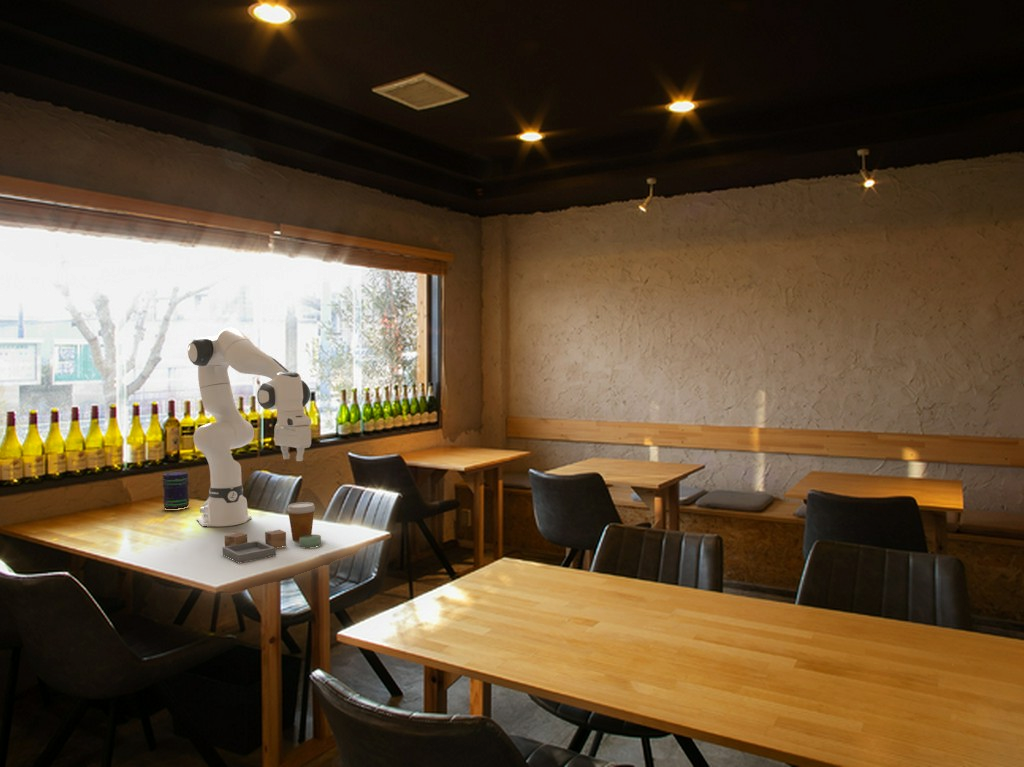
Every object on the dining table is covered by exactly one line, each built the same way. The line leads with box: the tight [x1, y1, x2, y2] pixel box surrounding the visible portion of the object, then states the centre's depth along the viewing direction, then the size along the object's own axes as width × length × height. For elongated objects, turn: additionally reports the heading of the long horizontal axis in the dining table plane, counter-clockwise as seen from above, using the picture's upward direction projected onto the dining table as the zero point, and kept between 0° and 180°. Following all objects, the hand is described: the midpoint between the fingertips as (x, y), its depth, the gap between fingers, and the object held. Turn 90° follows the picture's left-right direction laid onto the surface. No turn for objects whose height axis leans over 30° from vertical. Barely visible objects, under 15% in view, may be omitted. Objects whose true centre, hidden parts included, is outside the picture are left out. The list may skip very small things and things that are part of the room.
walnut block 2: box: [264, 529, 287, 549], centre depth 249 cm, size 5×5×5 cm
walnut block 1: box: [224, 531, 248, 547], centre depth 246 cm, size 5×5×5 cm
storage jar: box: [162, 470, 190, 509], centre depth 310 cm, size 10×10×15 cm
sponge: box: [299, 534, 322, 549], centre depth 250 cm, size 7×7×3 cm
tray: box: [221, 540, 277, 564], centre depth 239 cm, size 13×12×2 cm
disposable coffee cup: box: [286, 501, 316, 542], centre depth 258 cm, size 10×10×12 cm
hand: (293, 459), depth 251 cm, fingers open, 8 cm apart
